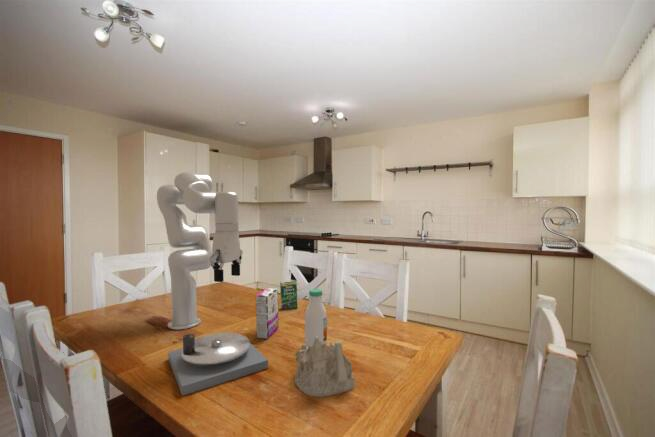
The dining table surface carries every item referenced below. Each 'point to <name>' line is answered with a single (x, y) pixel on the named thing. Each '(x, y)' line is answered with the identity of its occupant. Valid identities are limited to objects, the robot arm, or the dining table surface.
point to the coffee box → (288, 295)
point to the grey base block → (214, 370)
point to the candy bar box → (267, 312)
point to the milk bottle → (315, 318)
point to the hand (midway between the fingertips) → (227, 278)
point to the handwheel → (213, 348)
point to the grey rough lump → (323, 369)
